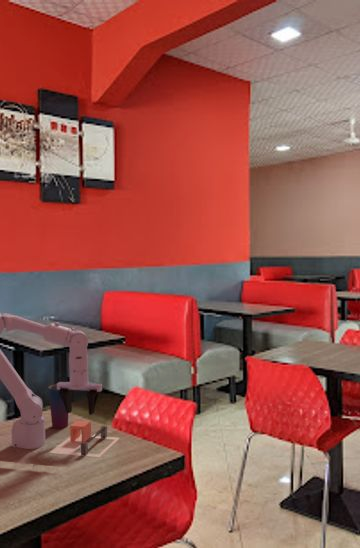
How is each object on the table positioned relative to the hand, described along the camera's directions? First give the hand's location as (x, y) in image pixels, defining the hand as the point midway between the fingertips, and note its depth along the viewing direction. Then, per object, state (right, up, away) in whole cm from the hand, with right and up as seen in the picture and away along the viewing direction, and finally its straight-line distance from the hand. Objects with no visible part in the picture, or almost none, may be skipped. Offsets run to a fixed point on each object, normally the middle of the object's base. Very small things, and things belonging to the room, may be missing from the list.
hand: (80, 413), depth 165 cm
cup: (-9, -10, +13) cm, 19 cm away
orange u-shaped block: (0, -8, 0) cm, 8 cm away
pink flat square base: (+2, -10, -4) cm, 11 cm away
